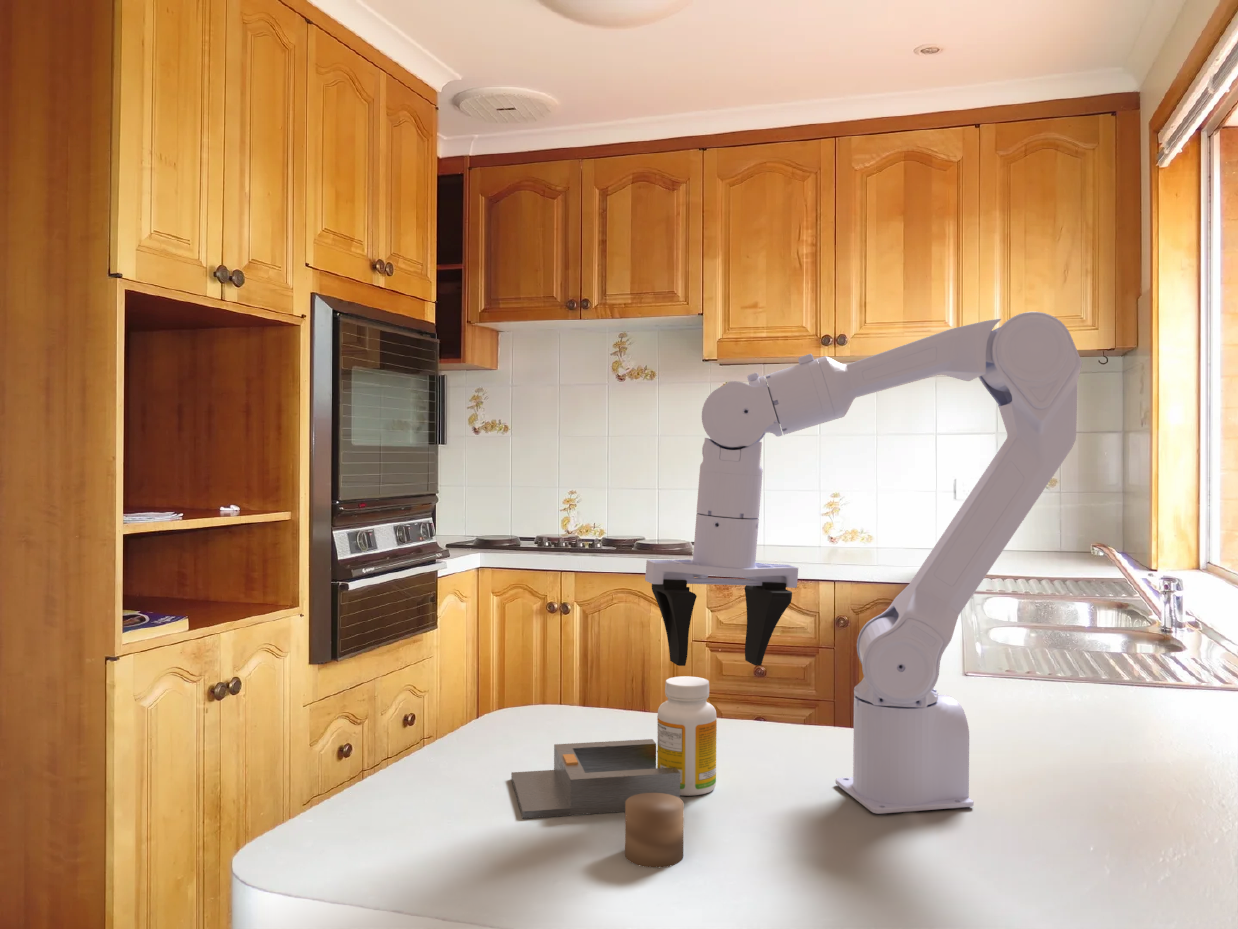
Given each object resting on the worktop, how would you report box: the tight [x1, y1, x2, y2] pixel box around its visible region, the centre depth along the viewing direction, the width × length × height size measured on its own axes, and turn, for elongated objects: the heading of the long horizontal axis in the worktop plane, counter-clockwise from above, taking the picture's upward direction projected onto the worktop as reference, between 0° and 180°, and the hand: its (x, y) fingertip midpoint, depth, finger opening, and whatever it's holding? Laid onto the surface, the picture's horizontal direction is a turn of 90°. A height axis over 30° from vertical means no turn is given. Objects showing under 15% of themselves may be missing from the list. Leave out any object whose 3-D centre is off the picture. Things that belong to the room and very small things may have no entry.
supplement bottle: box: [656, 675, 718, 797], centre depth 87 cm, size 5×5×10 cm
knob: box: [624, 793, 685, 869], centre depth 72 cm, size 4×4×4 cm
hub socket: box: [511, 738, 681, 819], centre depth 86 cm, size 14×10×3 cm
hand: (715, 663), depth 88 cm, fingers open, 7 cm apart
